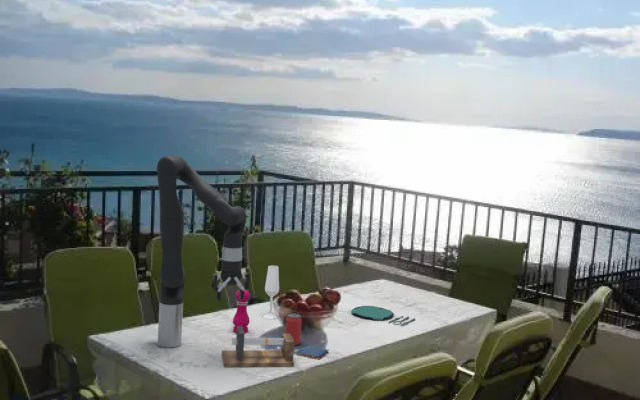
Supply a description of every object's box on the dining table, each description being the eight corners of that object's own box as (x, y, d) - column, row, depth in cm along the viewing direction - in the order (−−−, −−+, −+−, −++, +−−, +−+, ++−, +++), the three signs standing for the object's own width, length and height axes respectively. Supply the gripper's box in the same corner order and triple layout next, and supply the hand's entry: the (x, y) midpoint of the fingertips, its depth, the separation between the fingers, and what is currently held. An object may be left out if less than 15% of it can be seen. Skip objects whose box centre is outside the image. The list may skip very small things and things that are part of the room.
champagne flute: (276, 319, 318) (280, 268, 315) (262, 318, 318) (265, 267, 315) (277, 315, 324) (281, 265, 322) (263, 314, 324) (266, 264, 322)
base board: (224, 367, 252) (225, 343, 251) (221, 354, 266) (223, 331, 265) (293, 366, 258) (295, 343, 257) (287, 353, 271) (289, 331, 270)
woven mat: (305, 349, 280) (305, 344, 280) (329, 353, 276) (329, 349, 276) (294, 356, 271) (295, 351, 271) (319, 361, 267) (319, 356, 267)
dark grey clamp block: (237, 356, 255) (239, 333, 254) (235, 348, 264) (237, 326, 263) (243, 356, 256) (244, 333, 255) (240, 348, 265) (242, 326, 264)
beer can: (288, 346, 280) (290, 318, 279) (281, 341, 286) (283, 313, 285) (302, 345, 284) (304, 316, 282) (295, 340, 289) (297, 312, 288)
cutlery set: (365, 307, 350) (365, 302, 350) (418, 320, 334) (418, 316, 333) (344, 315, 334) (344, 310, 333) (399, 330, 317) (399, 325, 317)
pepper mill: (246, 334, 292) (248, 288, 290) (229, 332, 293) (232, 287, 291) (251, 329, 299) (253, 285, 297) (235, 327, 300) (237, 283, 298)
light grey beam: (232, 345, 258) (232, 339, 258) (231, 343, 260) (232, 337, 260) (284, 345, 262) (284, 339, 262) (283, 343, 264) (283, 337, 264)
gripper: (246, 256, 267) (244, 297, 268) (211, 257, 261) (209, 298, 262) (252, 260, 260) (250, 302, 261) (216, 260, 254) (214, 303, 256)
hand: (229, 300), depth 262 cm, fingers open, 8 cm apart
